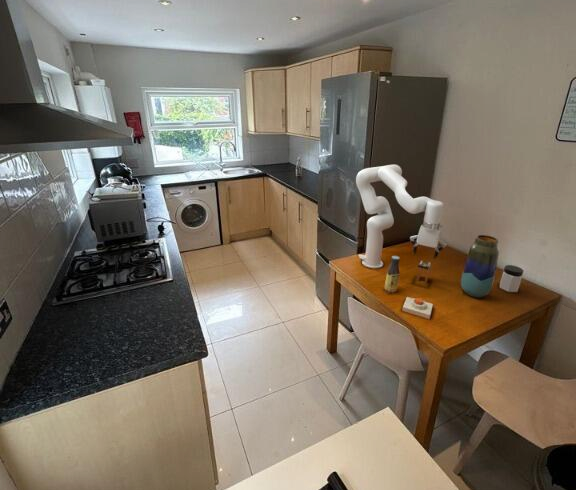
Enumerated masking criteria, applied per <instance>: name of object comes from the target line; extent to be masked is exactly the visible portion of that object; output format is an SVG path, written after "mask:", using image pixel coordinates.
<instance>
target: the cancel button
mask: <svg viewBox="0 0 576 490" xmlns="http://www.w3.org/2000/svg"><path fill="white" fill-rule="evenodd" d="M423 301H424V299H423V298H421V297H415V303H416V304H418V305H422V304H423Z"/></svg>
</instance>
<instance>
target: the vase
mask: <svg viewBox="0 0 576 490" xmlns="http://www.w3.org/2000/svg"><path fill="white" fill-rule="evenodd" d="M498 245H499V239H498V238H496V237H494V236H491V235H488V234H487V235H486V234H478V235H476V237H475V240H474V242H473V243H472V245H470V247H469V251H468V254H467V257H466V260H465V263H464V267H463V270H462V274H461V278H460V286H461V289H462V291H463V292H464V293H465V294H466V295H468V296H470V297H474V298H483V297H485V296H487V295H489V294H490V292H491V290H492V288H493V285H494V281H495V276H496V271H497V266H498V260H499V254H500V252H499V247H498Z"/></svg>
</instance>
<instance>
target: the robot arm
mask: <svg viewBox="0 0 576 490" xmlns="http://www.w3.org/2000/svg"><path fill="white" fill-rule="evenodd" d="M402 174H403V170H402V167H401V166H400V165H398V164H387V165H382V166H374V167H366V168H363V169H361V170H360V171H358V173H357V174H356V177H355V184H356V187H357V189H358V191H359V192H358V193H359V195H360V197H361V202H362V205H363V208H364V211H365V212H366V214H368V215H373V216H371V217H369V218H368V220H367V221H366V232H367V233H366V234H367V235H366V244H365V254H360V253H359V254H358V258H359V260H362V262H361V263H362V265H363V267H366V268H369V269H381V268H383V266H384V262H383V261H382V253H383V245H384V235H383V231H384V230H387V229H391V228H392V227H393V225H394V223H395V220H394V216H393V213H392V209H391V206H390V203H389V201H388V199H387V198H386V197H385V196H381V195H380V196H377V194H376V190H375V188H374V187H373V186H372V185H371V183H375V182H383V183H384V184H385V185H386V186H387V187H388V188H389V189H391V191H392V192H394V196H395V200H396V202H397V204H399V205H400V207H402V208H403V209H404V210H405V211H406V212H408V213H409V214H413V215H416V214H419V213H422V212H424V217H423V222H422V224H421V225H420V228H419V230H418V234H417V235H412V236H410V237H409V240H410V243H411V244H412V246H413V250H412V251H413V254H414V255H416V254H417V252H418V251H417V250H418V246H419V245H420V246H423V247H428V248H432V249H434V250H435V251H434V255H433V259H434V260H435V259H436V258H438V255H439V252H440V251H443V250H444V249H445V248H446V247H447V243H445V242H444V241H442V240H441V228H443V226H444V225H443V224H441V221H442V217H443V211H444V206H445V205H444V203H443V202H442V201H440V200H435V199H432V198H430V197H428V196H418V197H415V198H413V196H411V195H410V194H409V193H408V192H407V190H406V187H407V186H408V181H407V180H406V178H404V177H403V176H402ZM374 214H375V215H374ZM415 239H416V242H415ZM439 244H440V245H441V246H440V247H439Z"/></svg>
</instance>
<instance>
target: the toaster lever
mask: <svg viewBox="0 0 576 490" xmlns="http://www.w3.org/2000/svg"><path fill="white" fill-rule="evenodd" d="M417 267H418V268H419V267H420V268H422V269H425V270H427V269H429V267H428V264H427V263H424V262H423V264H422V266H421V265H419V264H418V265H417Z"/></svg>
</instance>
